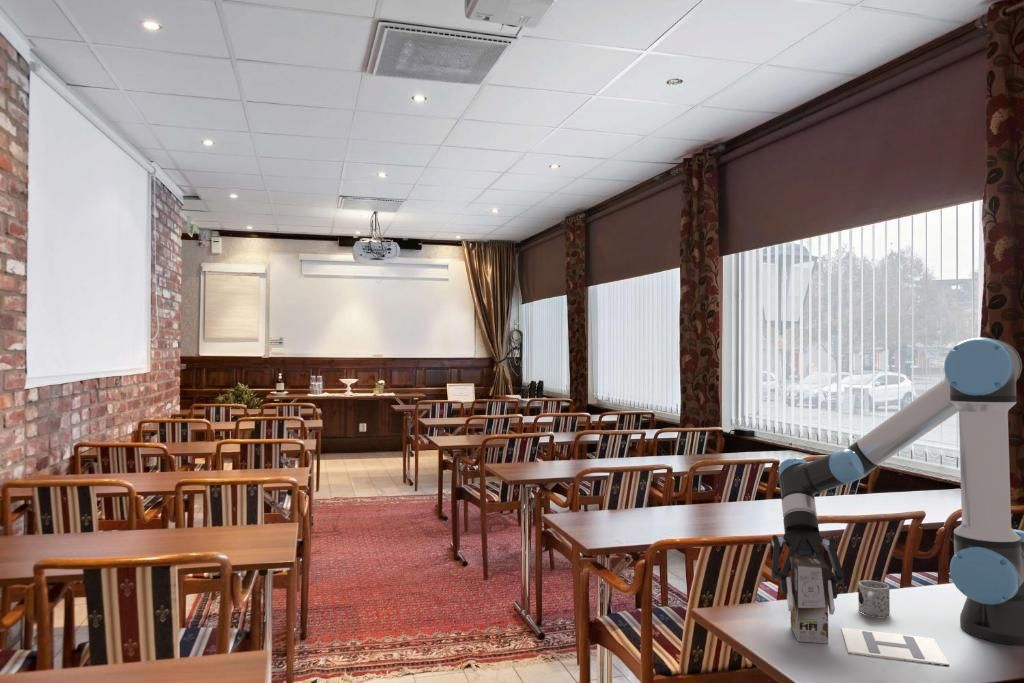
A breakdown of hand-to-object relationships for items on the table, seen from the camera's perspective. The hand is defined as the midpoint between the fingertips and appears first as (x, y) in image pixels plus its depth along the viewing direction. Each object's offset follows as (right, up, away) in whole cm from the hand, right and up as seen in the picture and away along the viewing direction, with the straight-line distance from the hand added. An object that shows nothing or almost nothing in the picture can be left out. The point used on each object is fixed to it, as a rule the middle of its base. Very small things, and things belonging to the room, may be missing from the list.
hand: (811, 609), depth 153 cm
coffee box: (+1, -7, +3) cm, 8 cm away
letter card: (+16, -7, -3) cm, 17 cm away
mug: (+21, -7, +16) cm, 28 cm away
